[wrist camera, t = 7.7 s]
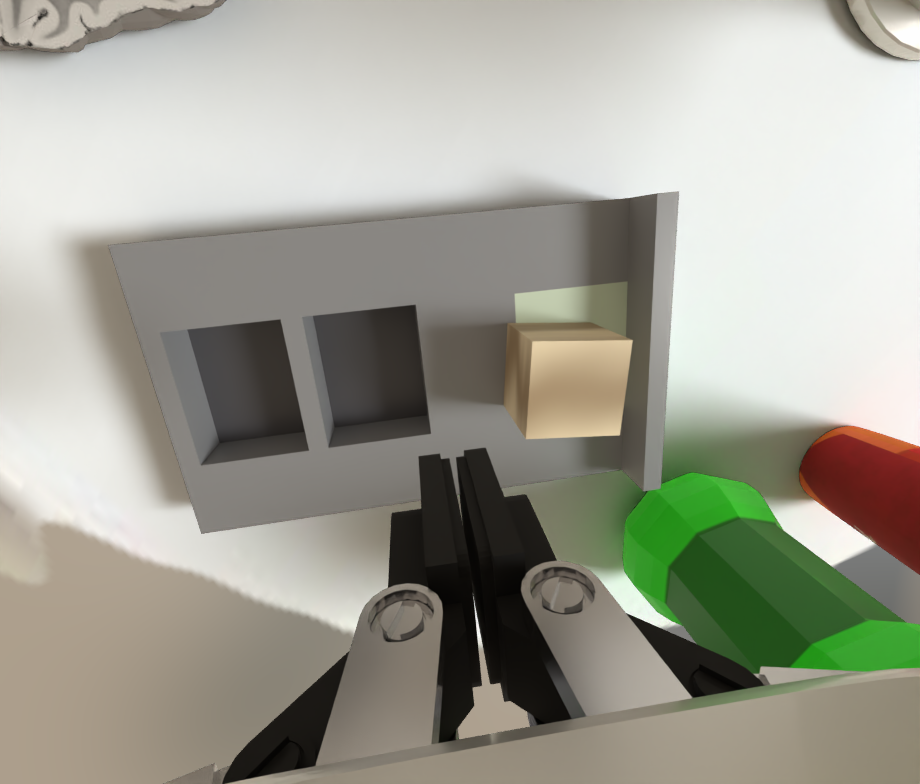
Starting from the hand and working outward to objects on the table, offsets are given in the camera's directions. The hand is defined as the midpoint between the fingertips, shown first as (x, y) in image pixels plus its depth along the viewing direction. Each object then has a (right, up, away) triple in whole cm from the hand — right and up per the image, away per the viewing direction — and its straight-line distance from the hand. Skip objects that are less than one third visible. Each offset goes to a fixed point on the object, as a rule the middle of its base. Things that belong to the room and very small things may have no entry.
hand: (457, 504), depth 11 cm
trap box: (-3, +5, +15) cm, 16 cm away
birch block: (+5, +4, +13) cm, 15 cm away
